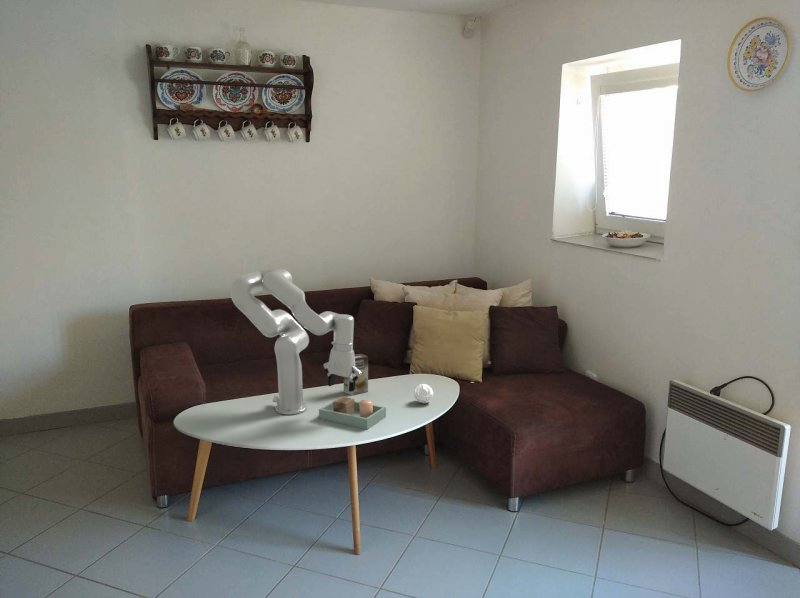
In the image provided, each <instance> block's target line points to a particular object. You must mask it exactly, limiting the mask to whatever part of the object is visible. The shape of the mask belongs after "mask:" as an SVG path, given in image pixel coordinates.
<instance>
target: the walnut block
mask: <svg viewBox="0 0 800 598" xmlns="http://www.w3.org/2000/svg"><path fill="white" fill-rule="evenodd" d="M354 401H355V398H352V397H346V396H340V397H338V398H336V399H335V400H333V401H332V402H333V411H335V412H340V413H345V414H350V415H353V414H354V413H355V411H354Z"/></svg>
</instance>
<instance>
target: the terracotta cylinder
mask: <svg viewBox="0 0 800 598" xmlns="http://www.w3.org/2000/svg"><path fill="white" fill-rule="evenodd" d="M358 402H359V407H360V417H364V418H367V417H369V416H370V415H372V414H373V406H372V405H373V400H371V399H362V400H359V401H358Z"/></svg>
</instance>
